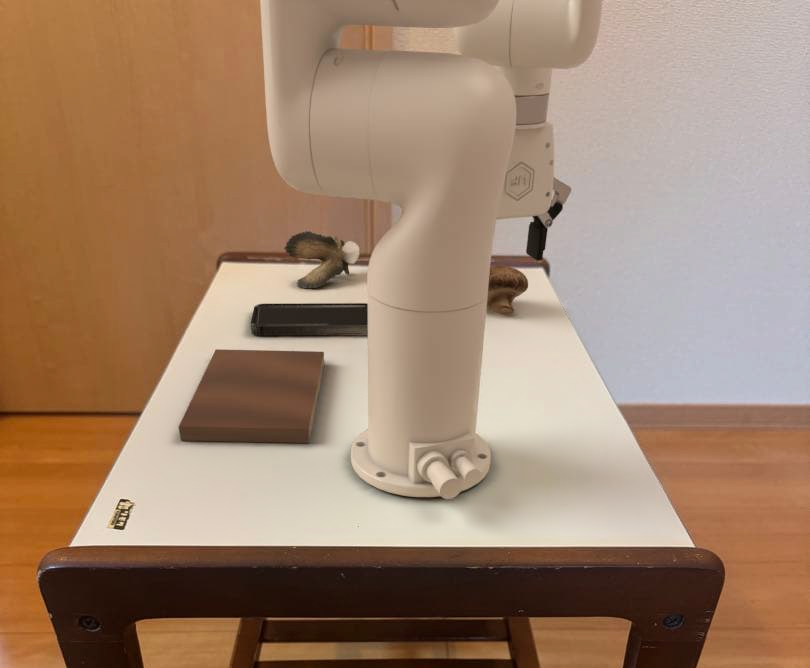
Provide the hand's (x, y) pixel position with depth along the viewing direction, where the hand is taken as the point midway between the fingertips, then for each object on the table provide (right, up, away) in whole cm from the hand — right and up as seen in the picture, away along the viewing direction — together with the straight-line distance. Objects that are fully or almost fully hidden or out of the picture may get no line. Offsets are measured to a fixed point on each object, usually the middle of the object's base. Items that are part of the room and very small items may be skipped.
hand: (500, 261), depth 100 cm
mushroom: (0, -5, +3) cm, 6 cm away
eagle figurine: (-24, +1, +11) cm, 26 cm away
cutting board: (-27, -21, -19) cm, 39 cm away
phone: (-23, -9, -3) cm, 25 cm away
